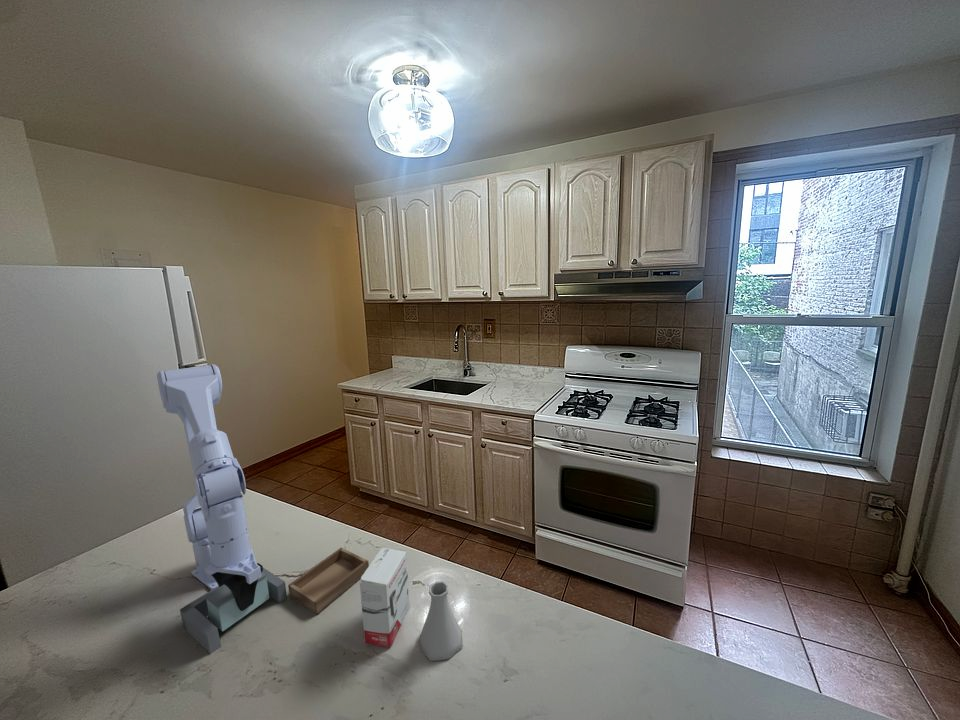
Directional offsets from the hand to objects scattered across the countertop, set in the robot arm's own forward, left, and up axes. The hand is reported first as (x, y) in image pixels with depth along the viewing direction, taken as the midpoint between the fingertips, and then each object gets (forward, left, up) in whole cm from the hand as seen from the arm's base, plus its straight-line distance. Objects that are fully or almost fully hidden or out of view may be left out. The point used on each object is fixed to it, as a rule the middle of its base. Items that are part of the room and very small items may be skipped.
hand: (239, 600), depth 66 cm
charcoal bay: (-2, 0, -3) cm, 3 cm away
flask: (+35, +14, -3) cm, 38 cm away
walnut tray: (+8, +13, -3) cm, 16 cm away
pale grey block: (0, 0, -2) cm, 2 cm away
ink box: (+25, +12, -3) cm, 28 cm away
